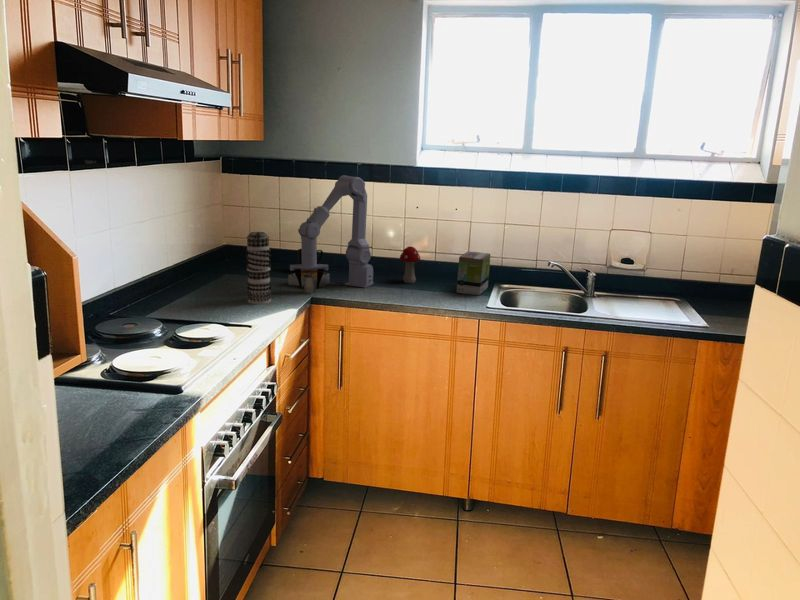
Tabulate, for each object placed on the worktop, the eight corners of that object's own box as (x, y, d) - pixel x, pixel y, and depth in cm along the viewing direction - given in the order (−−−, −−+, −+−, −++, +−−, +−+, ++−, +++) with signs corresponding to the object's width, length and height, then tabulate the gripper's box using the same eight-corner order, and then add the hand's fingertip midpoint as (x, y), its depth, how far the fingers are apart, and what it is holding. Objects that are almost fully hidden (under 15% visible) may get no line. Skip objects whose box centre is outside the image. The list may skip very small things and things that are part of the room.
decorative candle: (256, 305, 234) (254, 235, 228) (241, 300, 240) (239, 232, 234) (277, 301, 240) (276, 233, 234) (262, 296, 247) (261, 230, 240)
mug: (327, 271, 293) (327, 250, 291) (303, 273, 286) (303, 252, 284) (317, 267, 299) (317, 247, 297) (294, 270, 292) (294, 249, 290)
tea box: (480, 296, 258) (483, 258, 255) (455, 293, 262) (457, 256, 258) (488, 287, 272) (490, 252, 268) (464, 285, 275) (466, 250, 272)
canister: (315, 291, 257) (315, 275, 255) (310, 293, 253) (310, 276, 252) (307, 290, 258) (307, 273, 256) (302, 292, 255) (302, 275, 253)
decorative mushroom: (397, 279, 282) (398, 244, 278) (417, 279, 283) (418, 244, 280) (401, 284, 273) (402, 248, 269) (421, 284, 274) (423, 248, 270)
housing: (329, 283, 271) (329, 270, 270) (313, 288, 260) (313, 276, 259) (304, 279, 276) (304, 267, 274) (288, 285, 265) (288, 272, 264)
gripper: (327, 251, 257) (327, 285, 260) (289, 251, 254) (290, 286, 258) (328, 255, 250) (328, 290, 254) (289, 255, 248) (290, 290, 251)
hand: (309, 288), depth 255 cm, fingers open, 6 cm apart
